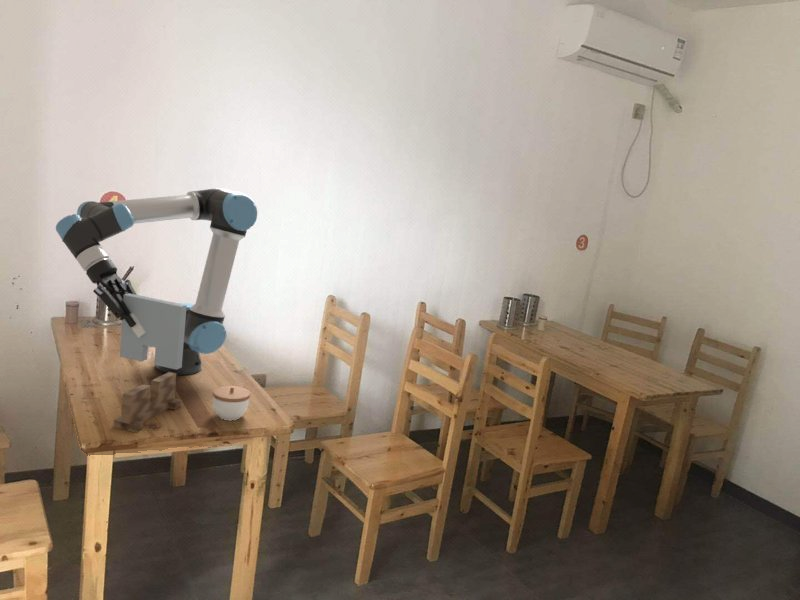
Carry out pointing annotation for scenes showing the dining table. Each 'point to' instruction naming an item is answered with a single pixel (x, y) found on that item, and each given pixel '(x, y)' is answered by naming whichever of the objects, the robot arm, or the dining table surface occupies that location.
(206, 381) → the dining table surface
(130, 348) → the slotted plate
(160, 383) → the walnut board
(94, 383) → the dining table surface
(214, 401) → the lidded jar
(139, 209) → the robot arm
